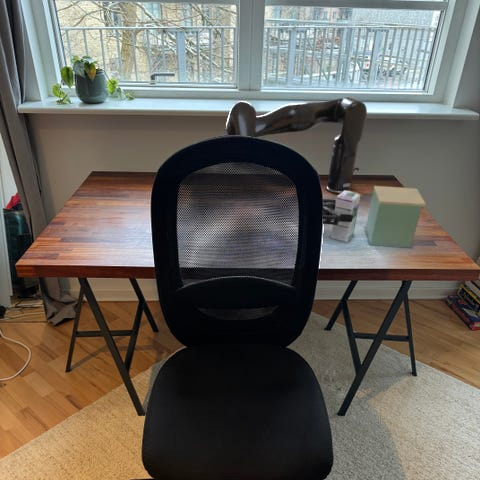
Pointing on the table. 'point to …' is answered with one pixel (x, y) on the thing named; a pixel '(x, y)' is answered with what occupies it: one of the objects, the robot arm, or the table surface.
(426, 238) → the table surface
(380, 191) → the lid
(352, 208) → the syrup box
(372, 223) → the box
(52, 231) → the table surface
